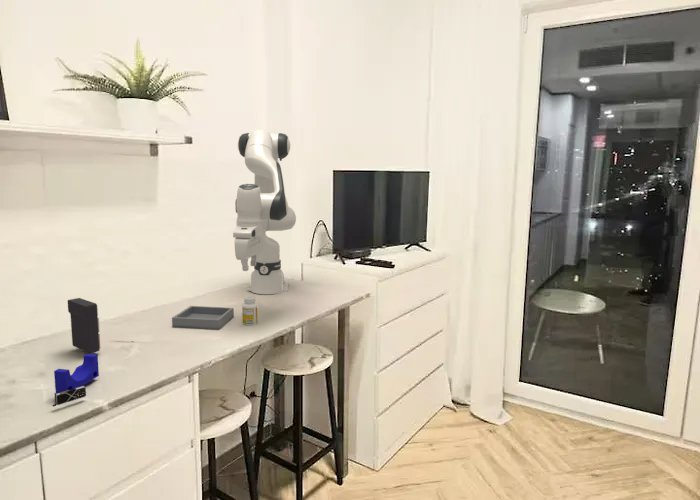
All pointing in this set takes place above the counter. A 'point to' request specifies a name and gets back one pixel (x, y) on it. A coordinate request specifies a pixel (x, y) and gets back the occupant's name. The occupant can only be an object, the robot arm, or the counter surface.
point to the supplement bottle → (249, 311)
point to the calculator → (84, 325)
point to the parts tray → (203, 317)
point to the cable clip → (77, 374)
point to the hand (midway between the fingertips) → (249, 268)
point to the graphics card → (69, 395)
